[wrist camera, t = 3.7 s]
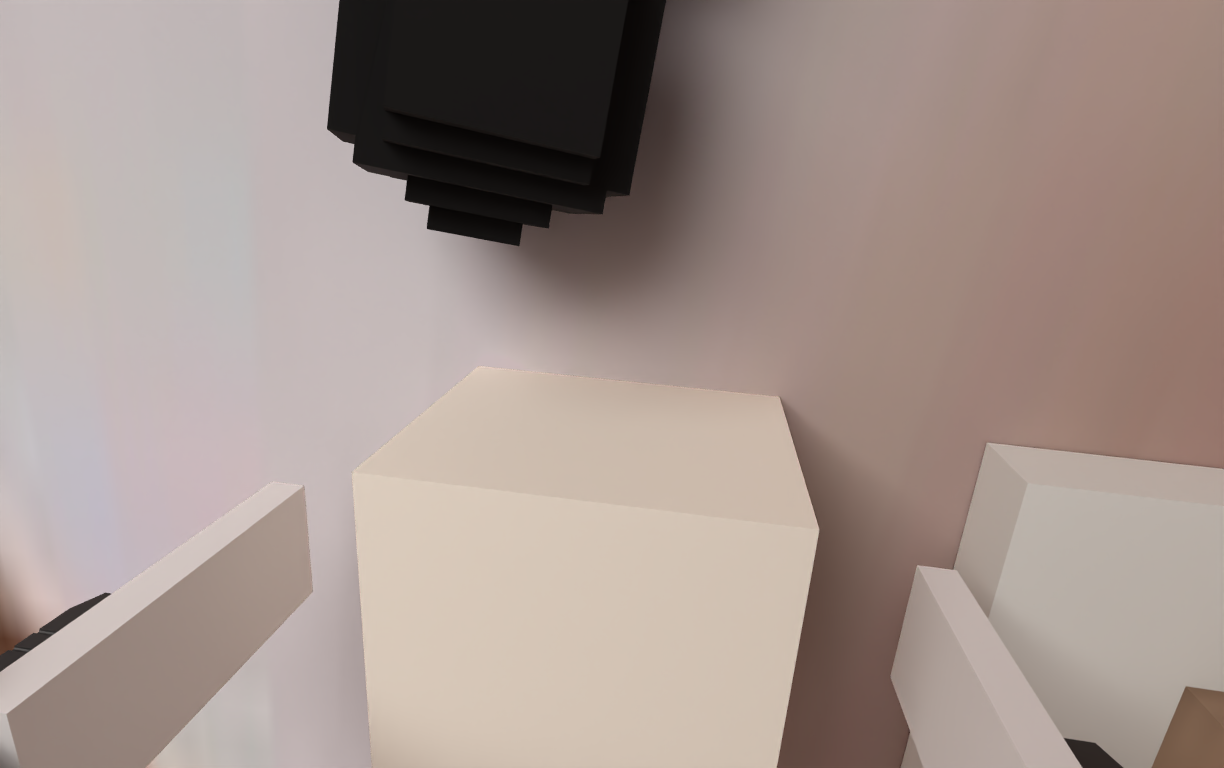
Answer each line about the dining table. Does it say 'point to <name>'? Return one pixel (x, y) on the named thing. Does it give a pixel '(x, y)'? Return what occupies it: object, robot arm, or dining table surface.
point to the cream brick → (582, 576)
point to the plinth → (1100, 587)
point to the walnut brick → (1194, 732)
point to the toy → (496, 104)
